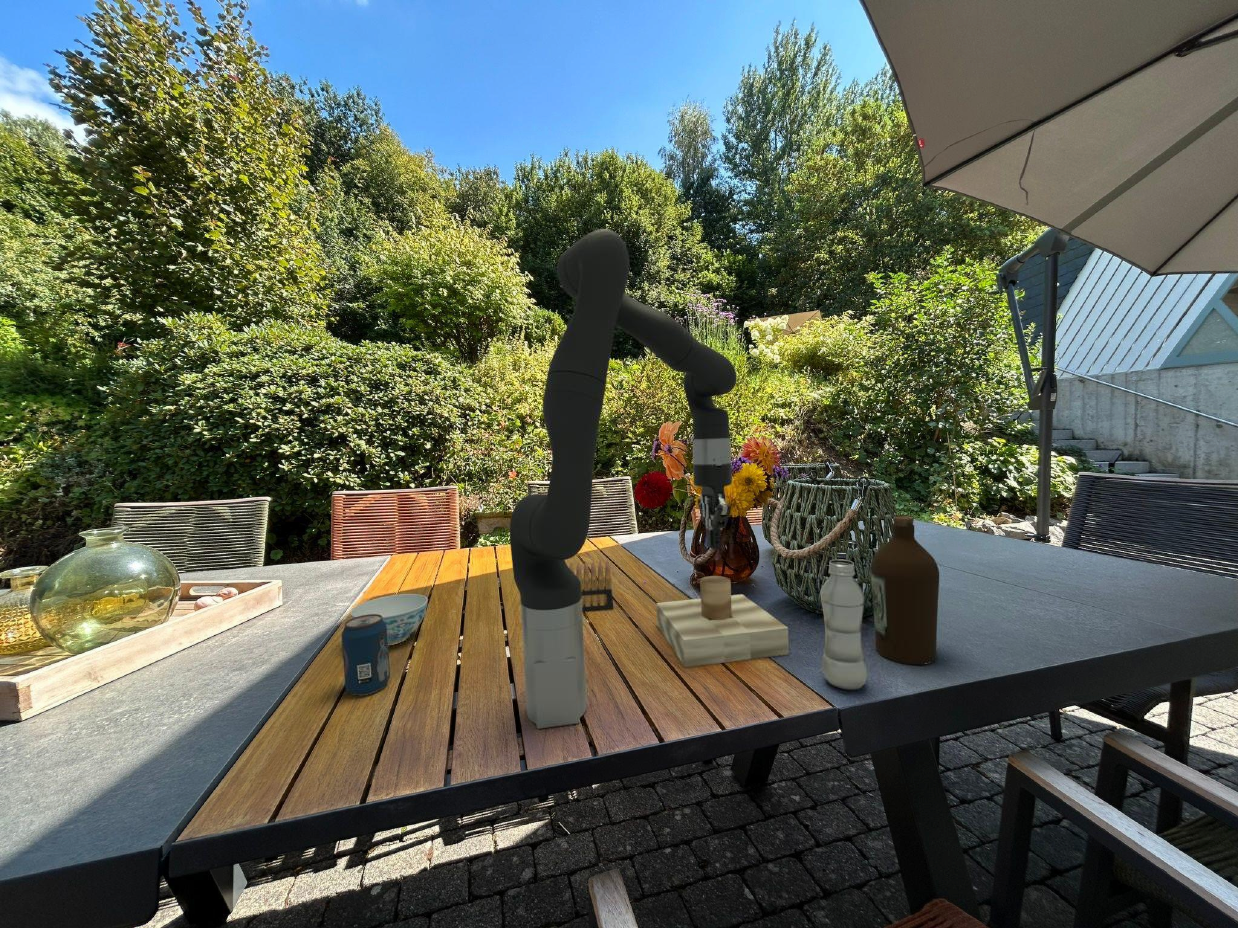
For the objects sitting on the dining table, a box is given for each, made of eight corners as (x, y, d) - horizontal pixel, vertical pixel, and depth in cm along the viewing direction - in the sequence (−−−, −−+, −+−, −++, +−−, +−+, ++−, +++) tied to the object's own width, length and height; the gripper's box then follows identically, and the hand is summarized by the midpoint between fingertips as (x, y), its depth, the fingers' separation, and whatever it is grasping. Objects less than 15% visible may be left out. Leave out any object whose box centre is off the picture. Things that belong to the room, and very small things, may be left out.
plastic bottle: (842, 698, 73) (839, 569, 72) (813, 677, 80) (810, 559, 79) (877, 691, 75) (874, 565, 74) (845, 671, 81) (843, 555, 80)
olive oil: (929, 643, 90) (928, 512, 89) (949, 670, 80) (948, 522, 79) (867, 639, 94) (864, 512, 92) (878, 663, 83) (876, 522, 82)
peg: (737, 642, 94) (735, 583, 94) (708, 646, 93) (706, 585, 93) (725, 631, 100) (723, 574, 100) (698, 634, 99) (696, 577, 99)
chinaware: (429, 646, 99) (427, 609, 99) (347, 661, 94) (344, 623, 93) (429, 622, 113) (427, 590, 113) (358, 634, 108) (355, 600, 107)
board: (788, 654, 89) (788, 627, 88) (685, 667, 85) (683, 639, 85) (743, 615, 108) (742, 594, 108) (657, 625, 105) (656, 603, 105)
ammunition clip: (612, 606, 118) (610, 559, 117) (613, 609, 116) (611, 560, 116) (569, 610, 117) (567, 561, 116) (569, 612, 115) (567, 563, 115)
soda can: (349, 682, 85) (344, 616, 84) (392, 674, 87) (387, 610, 87) (342, 702, 79) (336, 630, 78) (388, 692, 81) (383, 623, 80)
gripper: (683, 461, 101) (686, 542, 102) (705, 463, 88) (708, 556, 89) (717, 460, 102) (719, 540, 103) (743, 462, 89) (746, 553, 90)
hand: (714, 547), depth 96 cm, fingers closed
